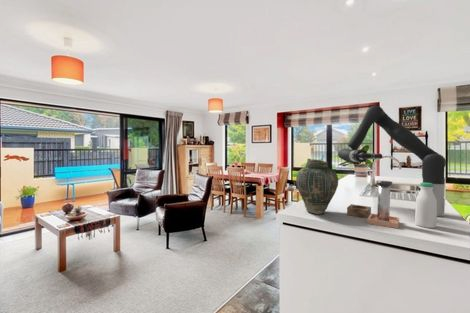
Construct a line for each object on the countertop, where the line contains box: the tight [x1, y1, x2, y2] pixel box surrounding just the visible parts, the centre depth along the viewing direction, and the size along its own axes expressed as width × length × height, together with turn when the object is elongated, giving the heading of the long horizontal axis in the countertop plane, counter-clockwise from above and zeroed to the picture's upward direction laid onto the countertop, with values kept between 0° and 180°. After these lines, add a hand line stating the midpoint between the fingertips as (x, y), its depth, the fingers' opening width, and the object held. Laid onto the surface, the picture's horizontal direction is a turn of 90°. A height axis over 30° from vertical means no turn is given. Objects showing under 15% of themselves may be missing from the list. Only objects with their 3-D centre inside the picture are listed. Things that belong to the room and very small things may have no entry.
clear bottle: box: [376, 180, 393, 222], centre depth 113 cm, size 6×6×19 cm
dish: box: [366, 212, 400, 230], centre depth 114 cm, size 12×12×2 cm
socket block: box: [346, 203, 372, 219], centre depth 128 cm, size 10×10×4 cm
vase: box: [295, 158, 339, 215], centre depth 132 cm, size 22×22×30 cm
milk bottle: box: [414, 182, 438, 229], centre depth 109 cm, size 8×8×20 cm
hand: (373, 156), depth 126 cm, fingers open, 8 cm apart
